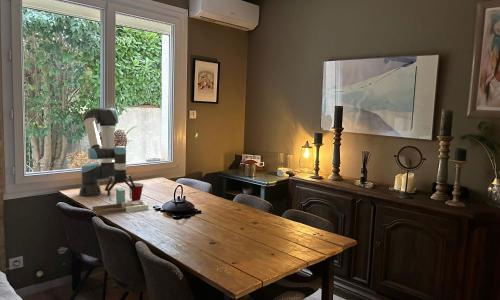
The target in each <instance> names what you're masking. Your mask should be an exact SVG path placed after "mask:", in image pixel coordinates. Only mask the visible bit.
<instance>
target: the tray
mask: <svg viewBox="0 0 500 300" xmlns="http://www.w3.org/2000/svg"><path fill="white" fill-rule="evenodd" d="M126 202H127V201H125V202H123V203H121V204H122V208H126V212H125V213H129V212H130V213H131V212H137V211H145V210H149V204H148V203H147V202H145V200H141V199H140V200H139V201H132V200H131V201H130V202H131V203H132V202H138V203H139V205H138V206H129V207H125V203H126Z"/></svg>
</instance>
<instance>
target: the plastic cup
mask: <svg viewBox="0 0 500 300" xmlns="http://www.w3.org/2000/svg"><path fill="white" fill-rule="evenodd" d="M128 183H129V184H130V185H131V186H132V184H131V182H128ZM133 183H134V185H135V186H136V188H134V189H133V194H132V199H131V202H132V201H141V198H142V193H143V187H144V186H145V184H144V183H140V182H133ZM132 187H133V186H132ZM128 188H129V190H130V189H131V188H130V187H129V186H128Z"/></svg>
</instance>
